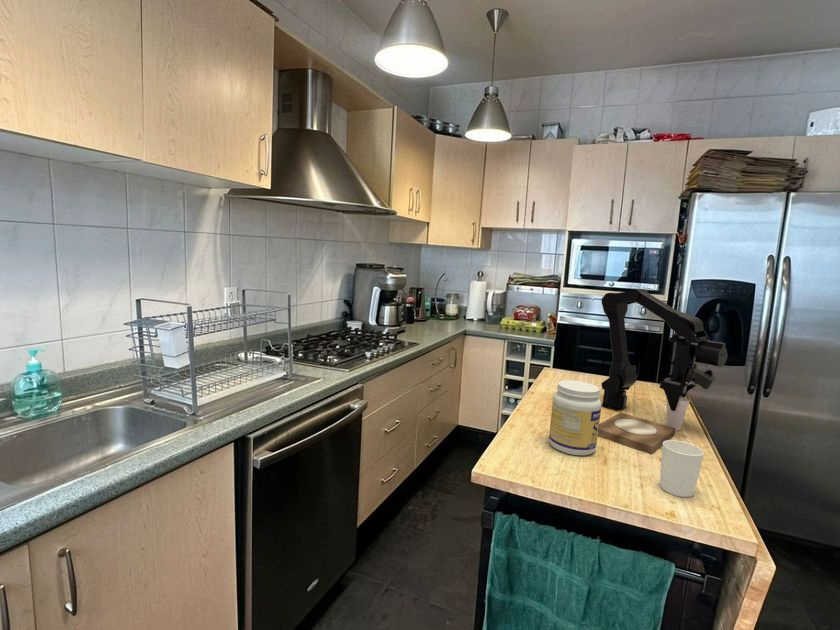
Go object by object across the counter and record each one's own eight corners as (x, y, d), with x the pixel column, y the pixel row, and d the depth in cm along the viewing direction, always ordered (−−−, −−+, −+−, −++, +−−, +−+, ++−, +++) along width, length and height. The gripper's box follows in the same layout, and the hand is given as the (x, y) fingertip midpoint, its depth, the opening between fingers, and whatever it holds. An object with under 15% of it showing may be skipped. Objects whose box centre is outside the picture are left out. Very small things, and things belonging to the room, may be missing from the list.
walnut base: (592, 434, 130) (593, 425, 130) (619, 418, 144) (620, 410, 144) (651, 454, 119) (653, 444, 119) (674, 435, 133) (675, 426, 133)
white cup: (692, 485, 104) (698, 444, 102) (700, 502, 96) (708, 458, 95) (654, 477, 106) (660, 437, 105) (659, 494, 99) (666, 451, 97)
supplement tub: (596, 461, 113) (604, 396, 111) (546, 450, 117) (552, 388, 115) (595, 442, 124) (603, 383, 122) (549, 433, 128) (556, 376, 126)
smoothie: (657, 424, 142) (663, 381, 140) (676, 424, 142) (683, 381, 140) (670, 432, 135) (676, 387, 133) (690, 433, 136) (697, 388, 134)
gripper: (707, 369, 123) (698, 423, 126) (722, 360, 137) (714, 409, 139) (662, 360, 131) (655, 412, 133) (681, 352, 144) (674, 399, 147)
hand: (676, 408), depth 138 cm, fingers closed on smoothie, 6 cm apart
